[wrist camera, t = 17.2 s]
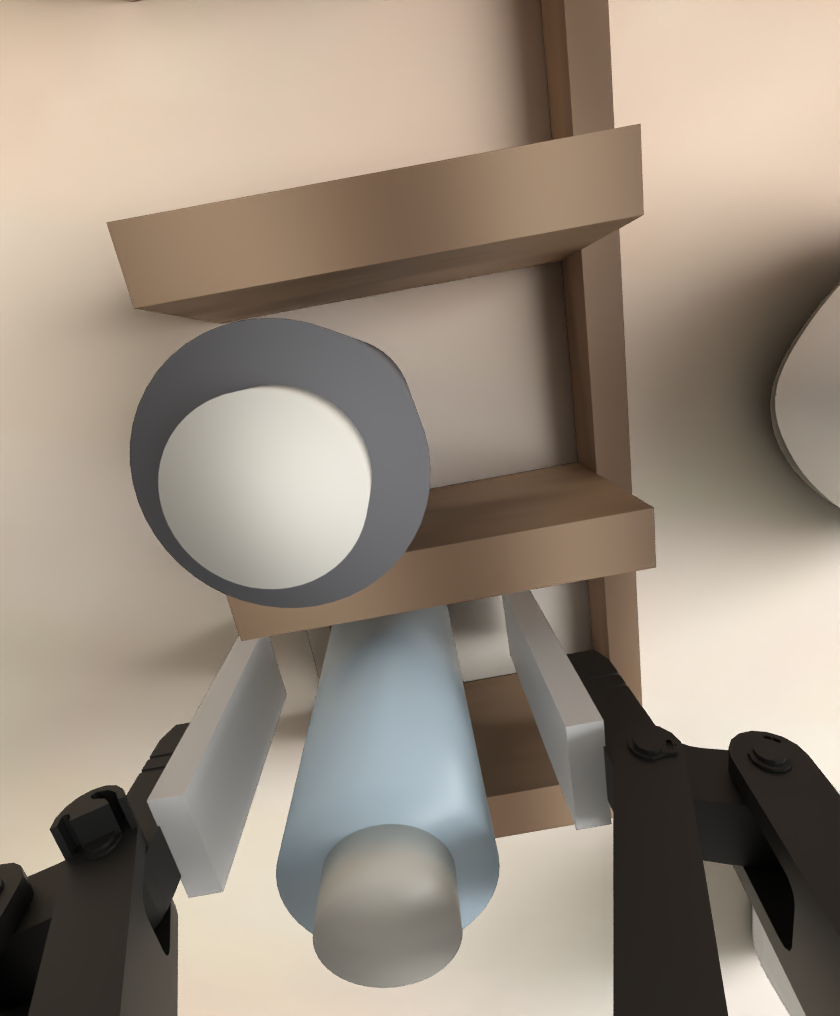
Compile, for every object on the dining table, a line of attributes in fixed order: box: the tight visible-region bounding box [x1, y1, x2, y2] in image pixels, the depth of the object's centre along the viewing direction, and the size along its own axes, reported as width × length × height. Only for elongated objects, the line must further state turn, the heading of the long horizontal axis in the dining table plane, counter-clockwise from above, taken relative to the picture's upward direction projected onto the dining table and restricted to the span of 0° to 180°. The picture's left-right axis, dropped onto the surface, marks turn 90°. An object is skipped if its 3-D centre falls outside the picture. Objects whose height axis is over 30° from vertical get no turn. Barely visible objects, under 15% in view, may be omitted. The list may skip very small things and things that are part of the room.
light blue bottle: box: [276, 605, 499, 988], centre depth 13 cm, size 4×4×10 cm
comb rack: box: [107, 0, 656, 838], centre depth 13 cm, size 11×26×5 cm, turn 10°
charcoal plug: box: [130, 318, 430, 608], centre depth 11 cm, size 4×4×10 cm
